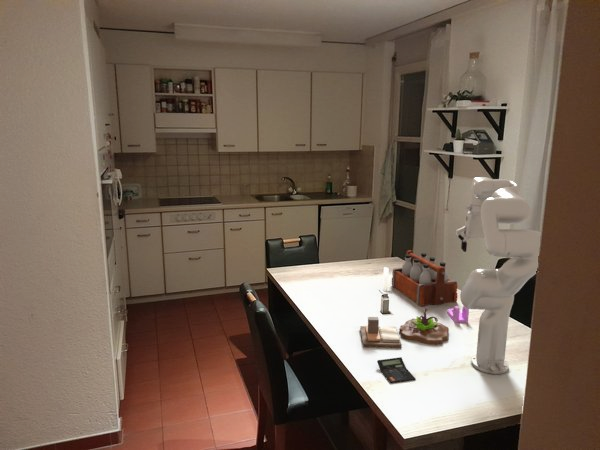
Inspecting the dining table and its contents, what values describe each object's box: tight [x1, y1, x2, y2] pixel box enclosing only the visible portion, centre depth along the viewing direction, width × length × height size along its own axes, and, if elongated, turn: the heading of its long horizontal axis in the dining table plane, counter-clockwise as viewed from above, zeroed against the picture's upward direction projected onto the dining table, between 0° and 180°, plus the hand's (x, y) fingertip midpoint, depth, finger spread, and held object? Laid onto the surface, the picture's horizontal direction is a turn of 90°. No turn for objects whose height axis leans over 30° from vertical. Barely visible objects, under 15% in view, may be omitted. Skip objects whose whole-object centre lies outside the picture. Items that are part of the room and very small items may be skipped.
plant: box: [398, 306, 450, 346], centre depth 193 cm, size 20×20×11 cm
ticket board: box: [360, 325, 402, 349], centre depth 189 cm, size 16×15×3 cm
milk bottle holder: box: [391, 249, 458, 307], centre depth 237 cm, size 21×35×19 cm, turn 16°
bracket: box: [446, 305, 470, 324], centre depth 210 cm, size 13×6×7 cm, turn 2°
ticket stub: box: [365, 316, 381, 341], centre depth 188 cm, size 12×5×7 cm, turn 177°
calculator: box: [376, 357, 417, 384], centre depth 163 cm, size 9×12×3 cm
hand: (476, 251), depth 183 cm, fingers open, 9 cm apart
